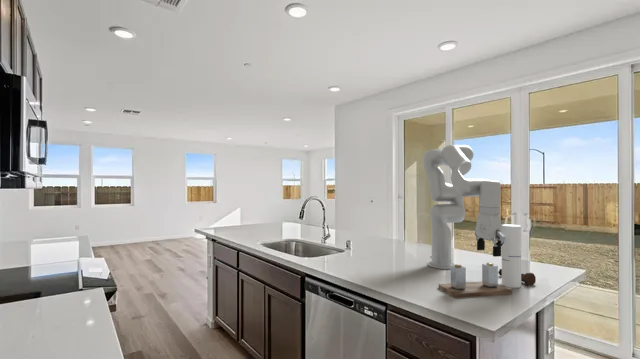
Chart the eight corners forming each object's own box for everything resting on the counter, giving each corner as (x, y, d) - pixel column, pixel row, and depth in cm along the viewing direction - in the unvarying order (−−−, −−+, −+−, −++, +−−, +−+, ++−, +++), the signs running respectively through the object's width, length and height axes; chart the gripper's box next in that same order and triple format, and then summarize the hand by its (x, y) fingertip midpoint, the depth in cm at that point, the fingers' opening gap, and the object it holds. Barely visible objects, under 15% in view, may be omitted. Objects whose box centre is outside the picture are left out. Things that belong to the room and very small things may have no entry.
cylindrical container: (521, 288, 137) (520, 227, 137) (501, 285, 141) (500, 225, 140) (521, 284, 143) (521, 225, 143) (502, 281, 147) (502, 223, 147)
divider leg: (482, 283, 137) (482, 262, 137) (491, 283, 138) (491, 262, 138) (488, 286, 133) (488, 264, 133) (497, 286, 134) (497, 264, 134)
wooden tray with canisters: (438, 287, 138) (438, 262, 138) (491, 284, 142) (491, 259, 142) (455, 298, 126) (455, 269, 126) (511, 294, 130) (511, 266, 130)
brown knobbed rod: (501, 280, 155) (533, 288, 141) (494, 275, 153) (525, 283, 139) (505, 268, 156) (537, 275, 142) (498, 263, 155) (530, 270, 141)
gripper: (468, 208, 143) (467, 248, 144) (495, 214, 126) (494, 259, 127) (483, 208, 145) (483, 247, 145) (513, 213, 128) (512, 258, 128)
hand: (488, 253), depth 136 cm, fingers open, 9 cm apart
